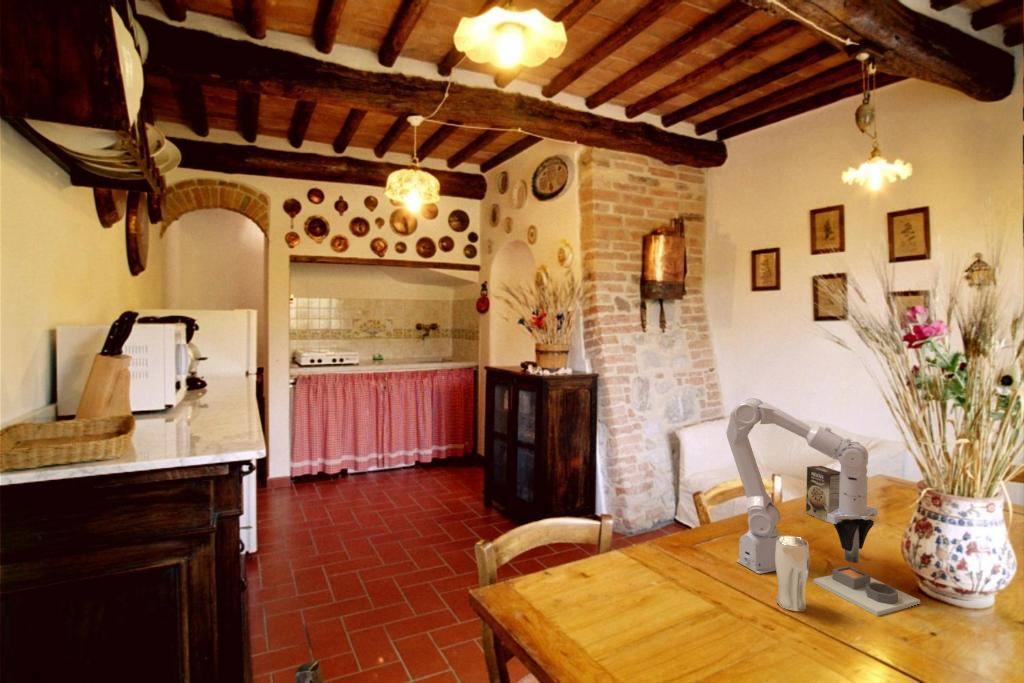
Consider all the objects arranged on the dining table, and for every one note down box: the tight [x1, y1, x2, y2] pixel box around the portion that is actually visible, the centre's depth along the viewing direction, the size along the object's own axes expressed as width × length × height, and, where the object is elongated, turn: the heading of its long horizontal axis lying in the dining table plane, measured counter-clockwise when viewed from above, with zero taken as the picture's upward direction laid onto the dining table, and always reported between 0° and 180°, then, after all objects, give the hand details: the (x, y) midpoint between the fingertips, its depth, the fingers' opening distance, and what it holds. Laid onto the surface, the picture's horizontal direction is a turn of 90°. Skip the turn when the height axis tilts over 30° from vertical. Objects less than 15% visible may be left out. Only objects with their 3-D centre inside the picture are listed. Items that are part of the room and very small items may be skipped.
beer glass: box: [775, 534, 810, 612], centre depth 122 cm, size 7×7×15 cm
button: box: [840, 569, 863, 578], centre depth 131 cm, size 4×4×1 cm
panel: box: [813, 565, 921, 617], centre depth 128 cm, size 14×16×4 cm
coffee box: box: [805, 465, 841, 524], centre depth 177 cm, size 9×6×16 cm
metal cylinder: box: [843, 522, 860, 564], centre depth 131 cm, size 3×3×9 cm
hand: (851, 548), depth 131 cm, fingers closed on metal cylinder, 3 cm apart
